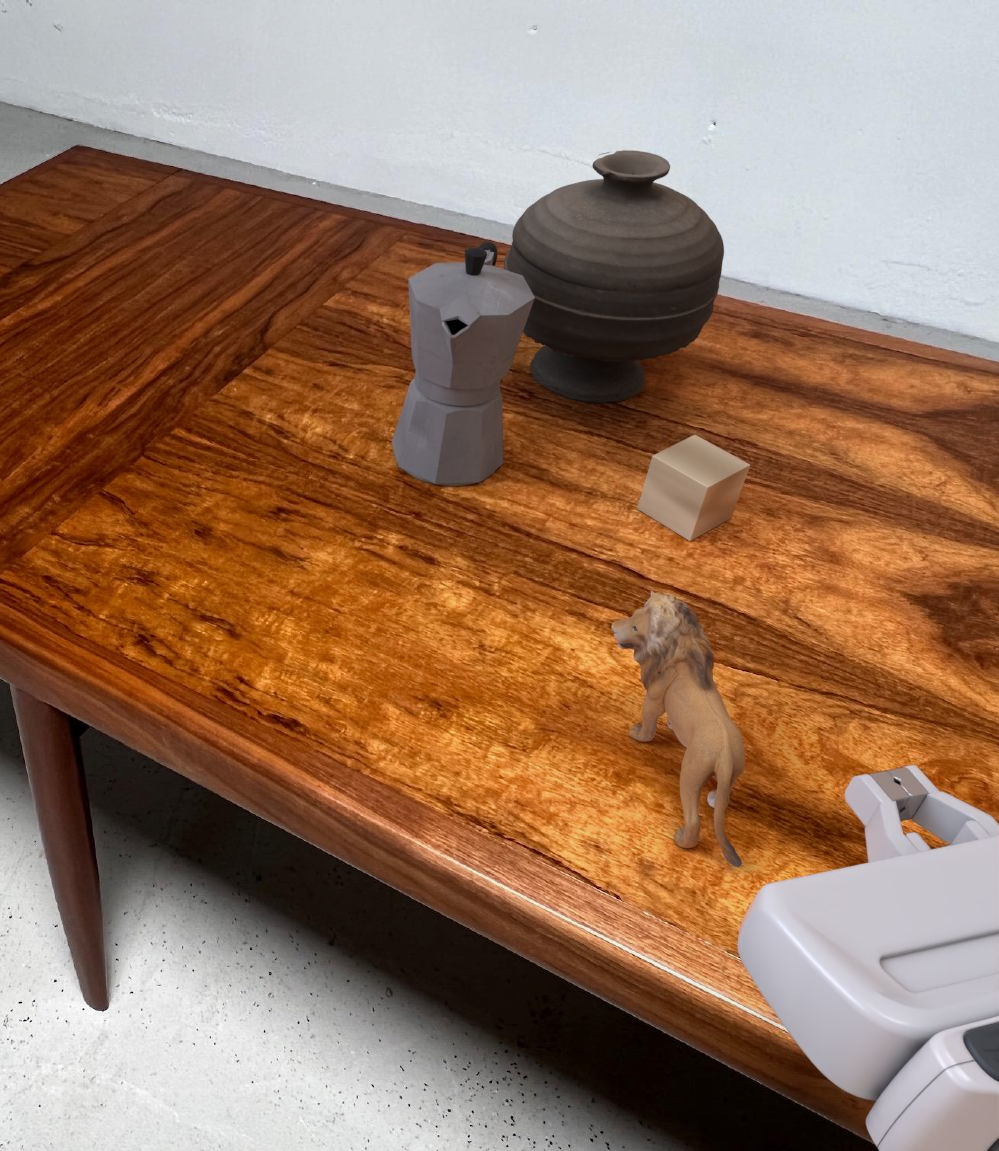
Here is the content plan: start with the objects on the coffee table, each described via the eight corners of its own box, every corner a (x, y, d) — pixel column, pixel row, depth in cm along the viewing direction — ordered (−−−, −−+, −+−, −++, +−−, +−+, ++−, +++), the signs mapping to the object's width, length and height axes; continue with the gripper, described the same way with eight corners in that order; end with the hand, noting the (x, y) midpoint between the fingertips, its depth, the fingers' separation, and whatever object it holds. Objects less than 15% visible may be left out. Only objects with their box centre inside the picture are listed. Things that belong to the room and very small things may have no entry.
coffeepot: (489, 512, 87) (528, 298, 76) (371, 488, 90) (391, 277, 78) (520, 412, 98) (558, 212, 87) (413, 393, 101) (437, 196, 89)
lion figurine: (581, 690, 73) (611, 585, 67) (658, 679, 74) (694, 574, 68) (694, 880, 62) (741, 774, 56) (782, 865, 63) (838, 758, 57)
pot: (453, 390, 100) (500, 160, 88) (516, 323, 113) (564, 114, 101) (656, 451, 93) (736, 211, 81) (698, 372, 106) (773, 155, 94)
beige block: (678, 487, 90) (694, 434, 87) (731, 518, 87) (750, 464, 83) (636, 508, 88) (652, 455, 84) (689, 541, 85) (708, 487, 81)
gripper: (1417, 968, 40) (1106, 693, 50) (919, 1094, 37) (693, 770, 47) (1306, 1055, 44) (1039, 784, 54) (848, 1176, 41) (655, 861, 51)
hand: (876, 778), depth 51 cm, fingers closed
